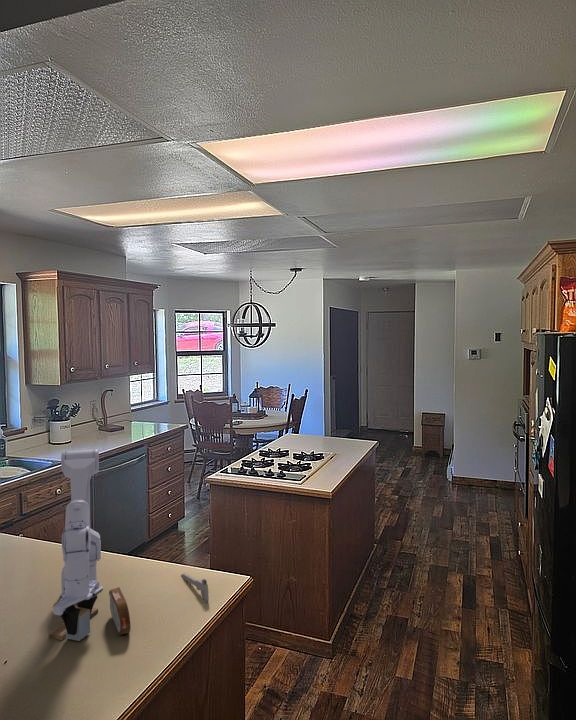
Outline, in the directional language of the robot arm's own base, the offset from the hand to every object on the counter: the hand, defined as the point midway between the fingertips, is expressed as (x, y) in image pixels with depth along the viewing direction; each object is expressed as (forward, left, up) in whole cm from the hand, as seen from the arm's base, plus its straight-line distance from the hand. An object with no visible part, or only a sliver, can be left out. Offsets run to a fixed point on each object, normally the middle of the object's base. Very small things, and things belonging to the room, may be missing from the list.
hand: (78, 628), depth 131 cm
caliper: (+16, +32, -3) cm, 36 cm away
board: (-5, +5, -2) cm, 7 cm away
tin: (+7, +8, -2) cm, 10 cm away
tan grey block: (0, 0, -2) cm, 2 cm away
